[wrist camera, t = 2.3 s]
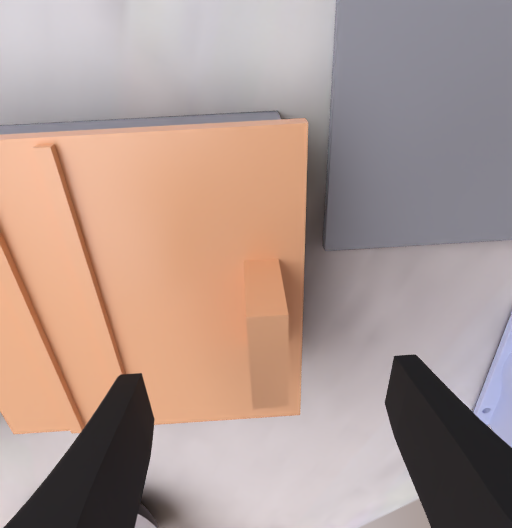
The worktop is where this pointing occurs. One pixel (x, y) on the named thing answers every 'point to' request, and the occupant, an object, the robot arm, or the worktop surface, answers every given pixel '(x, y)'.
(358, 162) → the mat
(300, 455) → the worktop surface
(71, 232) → the lid
